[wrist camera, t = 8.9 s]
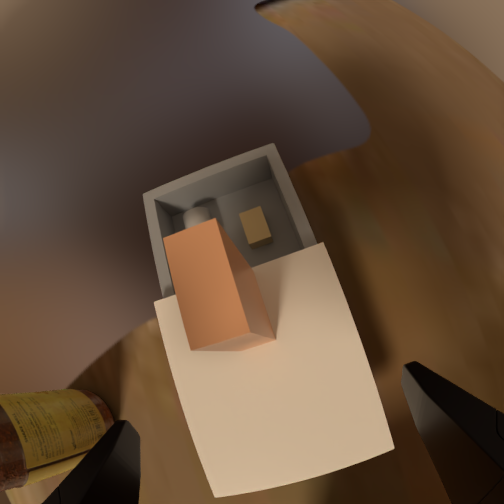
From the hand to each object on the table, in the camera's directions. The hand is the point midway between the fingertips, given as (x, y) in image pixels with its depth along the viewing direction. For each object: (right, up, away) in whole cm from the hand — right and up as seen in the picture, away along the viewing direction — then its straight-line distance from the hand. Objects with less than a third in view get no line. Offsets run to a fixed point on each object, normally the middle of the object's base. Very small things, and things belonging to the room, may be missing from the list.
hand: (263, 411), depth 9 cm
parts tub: (-1, +4, +15) cm, 15 cm away
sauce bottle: (-14, -10, +13) cm, 21 cm away
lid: (+1, -2, +8) cm, 8 cm away
